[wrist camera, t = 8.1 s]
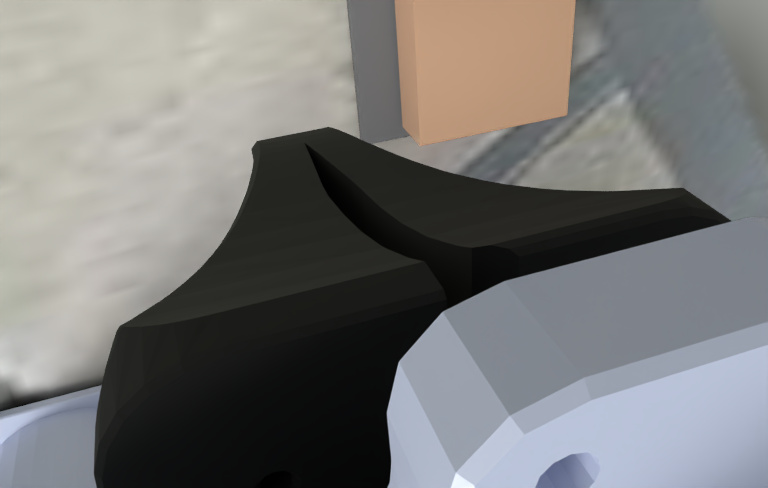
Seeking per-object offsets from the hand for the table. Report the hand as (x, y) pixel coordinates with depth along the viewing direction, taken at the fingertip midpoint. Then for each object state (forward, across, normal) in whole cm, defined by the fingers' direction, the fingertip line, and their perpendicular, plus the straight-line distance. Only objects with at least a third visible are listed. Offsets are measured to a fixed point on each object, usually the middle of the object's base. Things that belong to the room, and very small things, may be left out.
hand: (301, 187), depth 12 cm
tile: (+8, -5, +1) cm, 10 cm away
